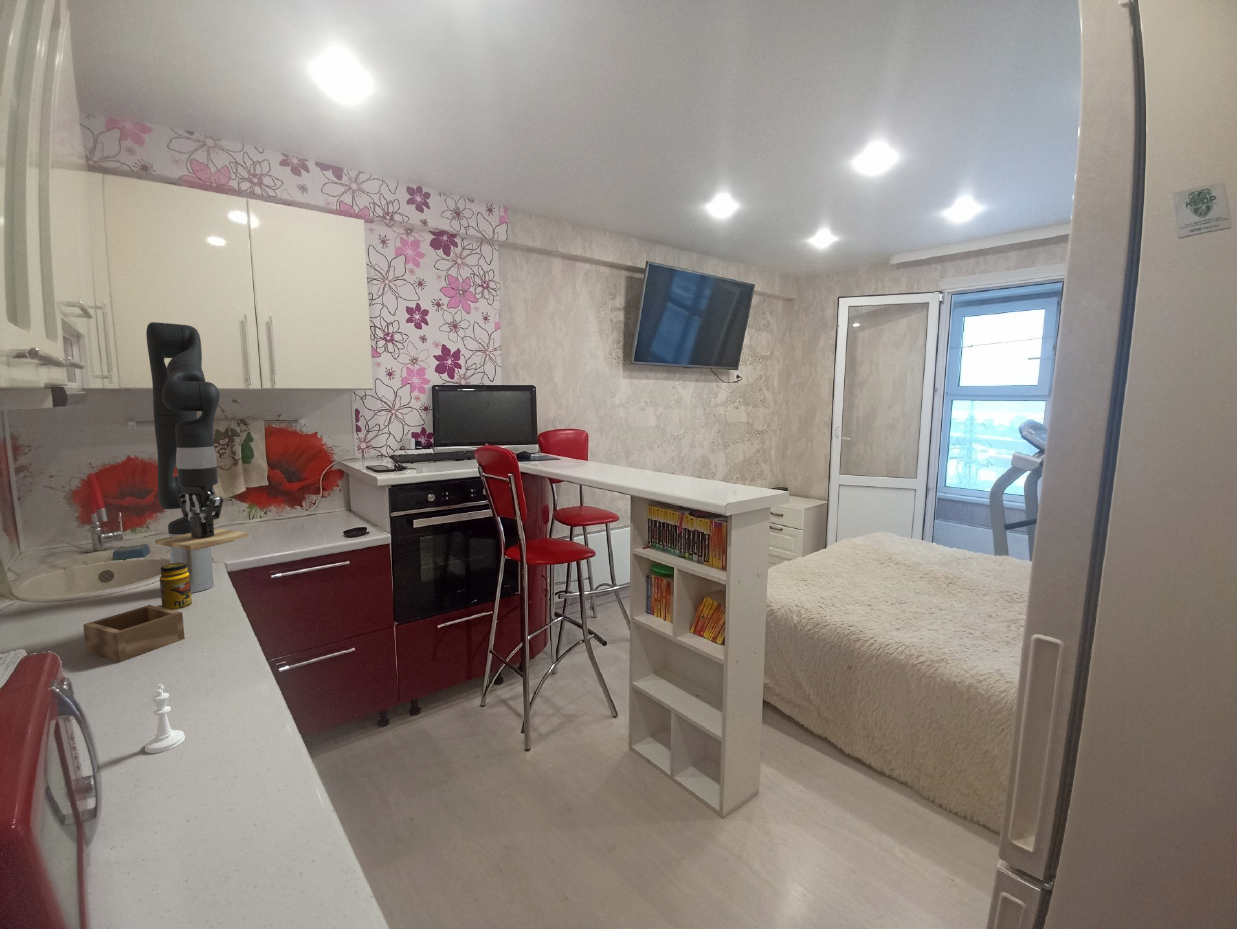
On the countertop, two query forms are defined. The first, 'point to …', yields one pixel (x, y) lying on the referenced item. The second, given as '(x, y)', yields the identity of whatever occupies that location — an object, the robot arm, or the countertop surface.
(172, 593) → the condiment
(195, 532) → the lid
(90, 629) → the box
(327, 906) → the countertop surface
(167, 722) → the chess piece
